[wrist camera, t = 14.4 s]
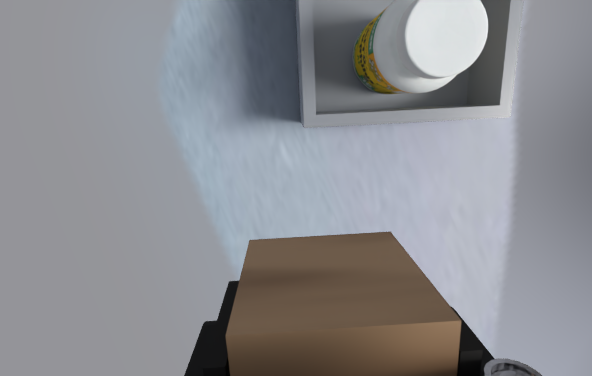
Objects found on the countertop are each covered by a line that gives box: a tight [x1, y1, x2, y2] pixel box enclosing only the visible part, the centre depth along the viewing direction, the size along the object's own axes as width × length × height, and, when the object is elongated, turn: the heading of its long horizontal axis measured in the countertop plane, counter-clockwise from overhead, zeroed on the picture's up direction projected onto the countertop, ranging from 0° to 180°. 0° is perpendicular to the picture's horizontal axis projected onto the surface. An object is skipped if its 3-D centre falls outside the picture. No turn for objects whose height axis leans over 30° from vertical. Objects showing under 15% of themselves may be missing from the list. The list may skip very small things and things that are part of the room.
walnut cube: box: [226, 232, 461, 376], centre depth 10 cm, size 5×5×5 cm
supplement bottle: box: [352, 0, 488, 94], centre depth 20 cm, size 5×5×10 cm
